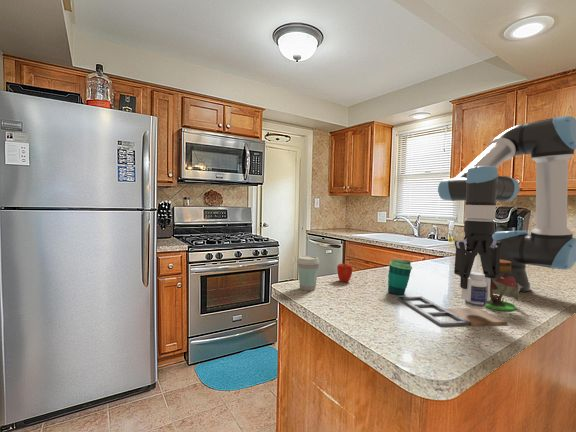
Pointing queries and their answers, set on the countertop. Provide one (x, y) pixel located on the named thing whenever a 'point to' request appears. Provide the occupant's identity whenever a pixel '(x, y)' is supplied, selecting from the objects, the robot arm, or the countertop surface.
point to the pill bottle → (477, 291)
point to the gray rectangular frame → (431, 314)
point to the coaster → (477, 316)
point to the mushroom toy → (503, 289)
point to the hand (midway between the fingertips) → (475, 299)
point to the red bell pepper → (344, 272)
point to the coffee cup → (308, 272)
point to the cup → (398, 276)
